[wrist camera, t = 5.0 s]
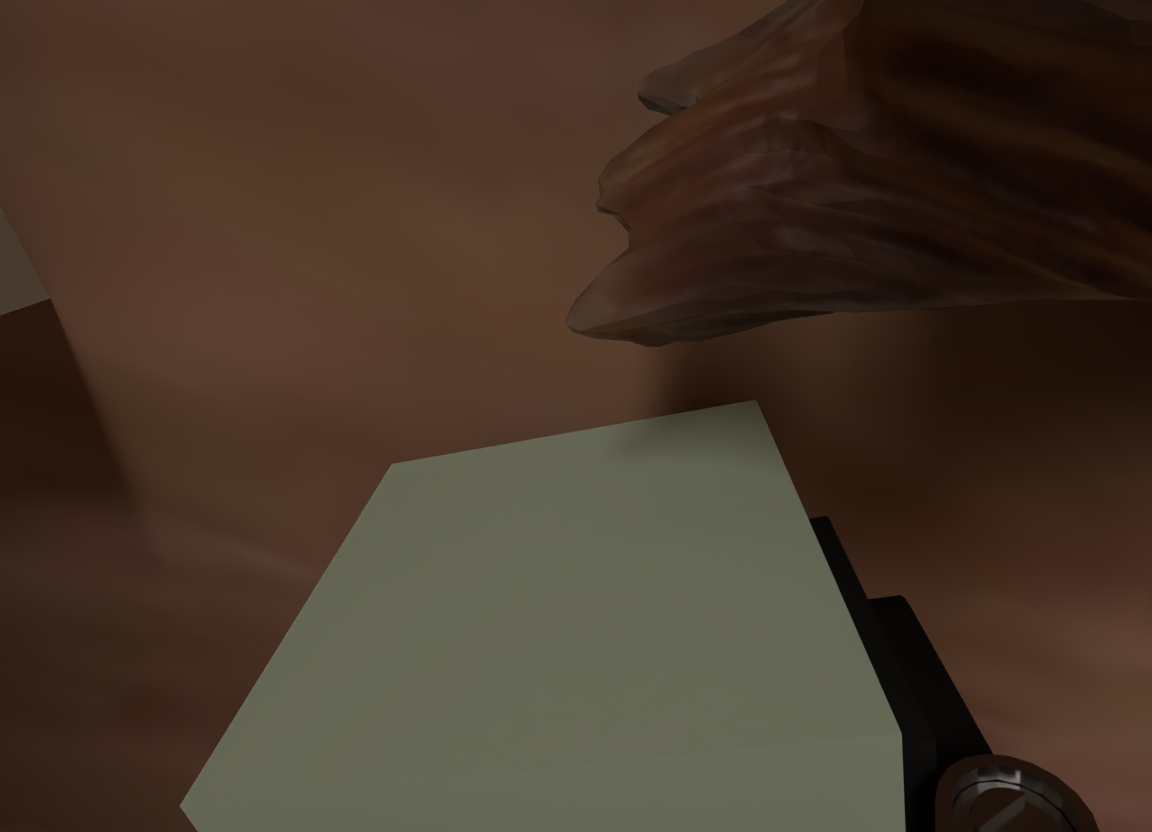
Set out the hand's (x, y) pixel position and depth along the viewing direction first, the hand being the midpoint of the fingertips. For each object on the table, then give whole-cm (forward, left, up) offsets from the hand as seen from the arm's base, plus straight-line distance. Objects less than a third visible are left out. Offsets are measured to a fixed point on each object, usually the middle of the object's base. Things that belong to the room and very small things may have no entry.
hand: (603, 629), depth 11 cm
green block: (0, 0, -1) cm, 1 cm away
